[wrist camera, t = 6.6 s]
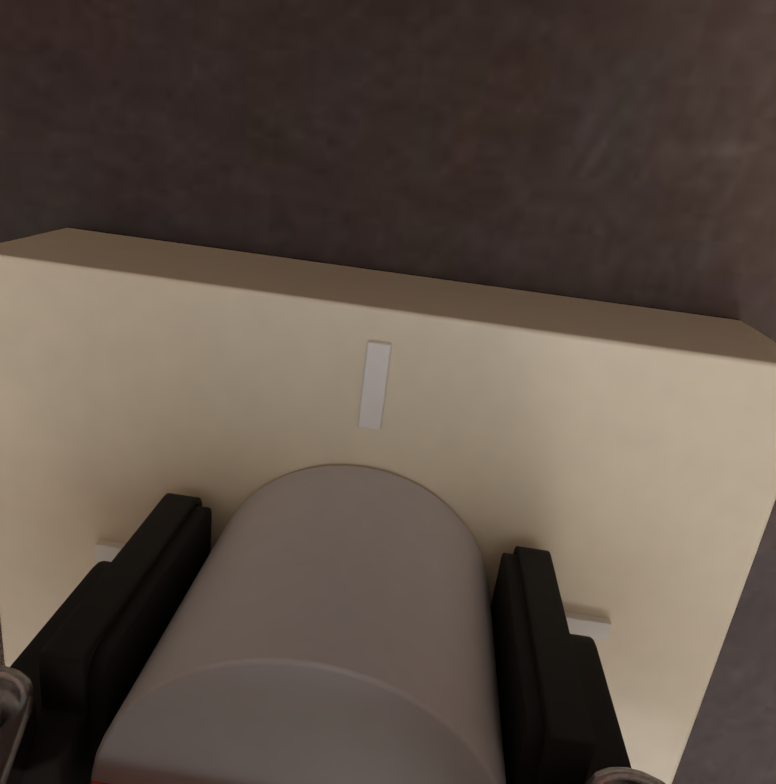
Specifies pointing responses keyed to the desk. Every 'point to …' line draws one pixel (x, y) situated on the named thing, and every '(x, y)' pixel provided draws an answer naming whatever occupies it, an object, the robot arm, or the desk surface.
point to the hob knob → (322, 648)
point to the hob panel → (393, 433)
